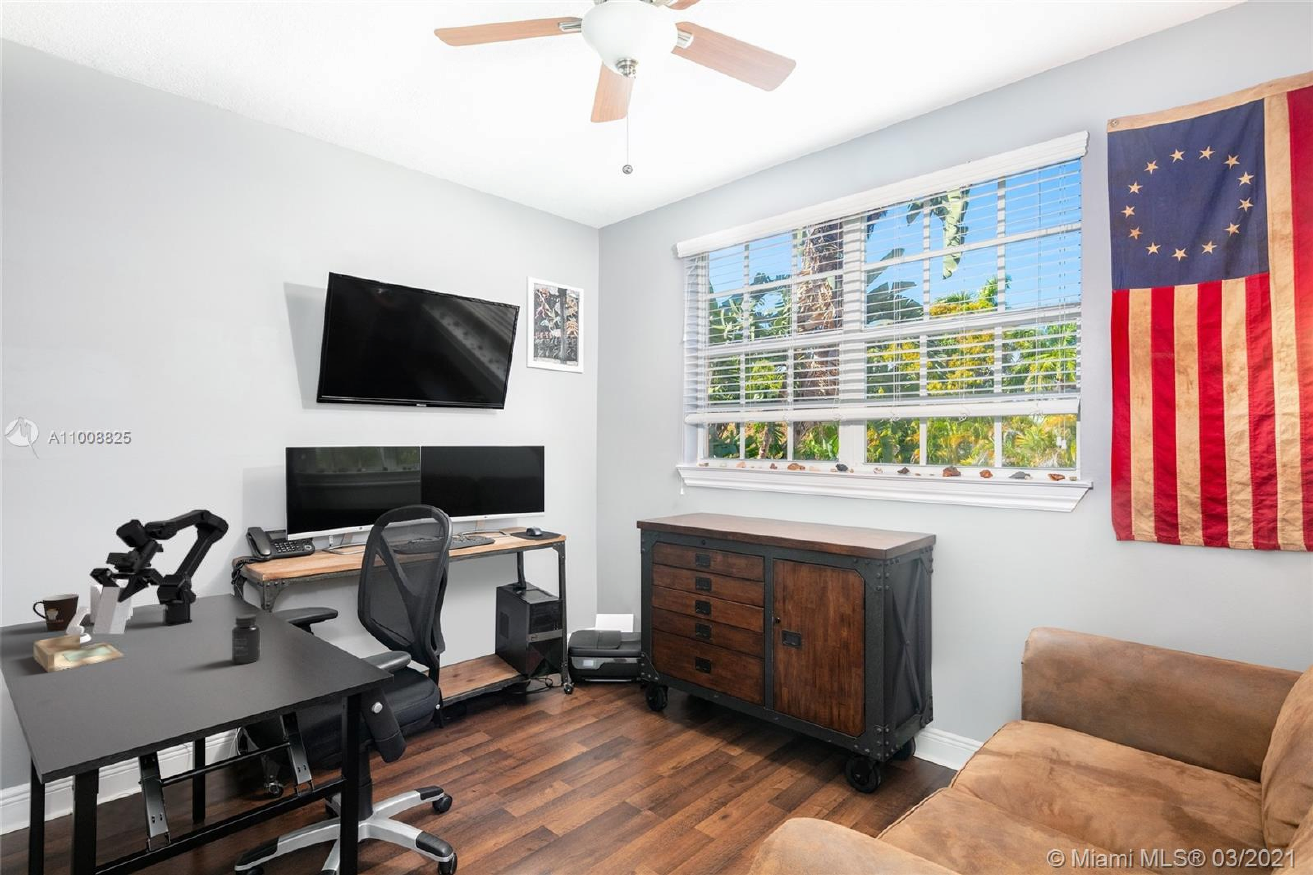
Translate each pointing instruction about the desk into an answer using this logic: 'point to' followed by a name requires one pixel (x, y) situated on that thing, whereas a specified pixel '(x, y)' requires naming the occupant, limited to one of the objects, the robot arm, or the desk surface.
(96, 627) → the aluminium block
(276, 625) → the desk surface
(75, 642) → the tan wooden shallow tray
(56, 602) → the coffee mug
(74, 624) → the hook
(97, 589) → the white angled block
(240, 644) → the supplement bottle
